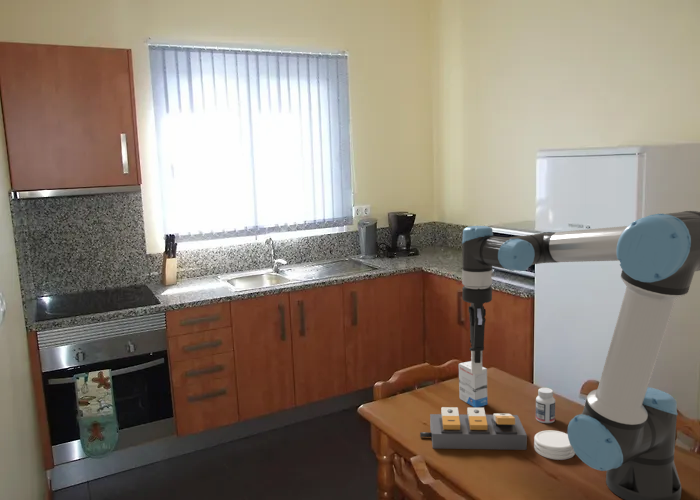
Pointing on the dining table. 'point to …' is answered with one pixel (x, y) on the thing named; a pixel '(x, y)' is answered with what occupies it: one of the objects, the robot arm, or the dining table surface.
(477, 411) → the rocker
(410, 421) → the dining table surface
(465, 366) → the ink box
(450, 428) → the rocker
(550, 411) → the pill bottle
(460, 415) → the rocker switch panel
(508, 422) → the block
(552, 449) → the coaster
